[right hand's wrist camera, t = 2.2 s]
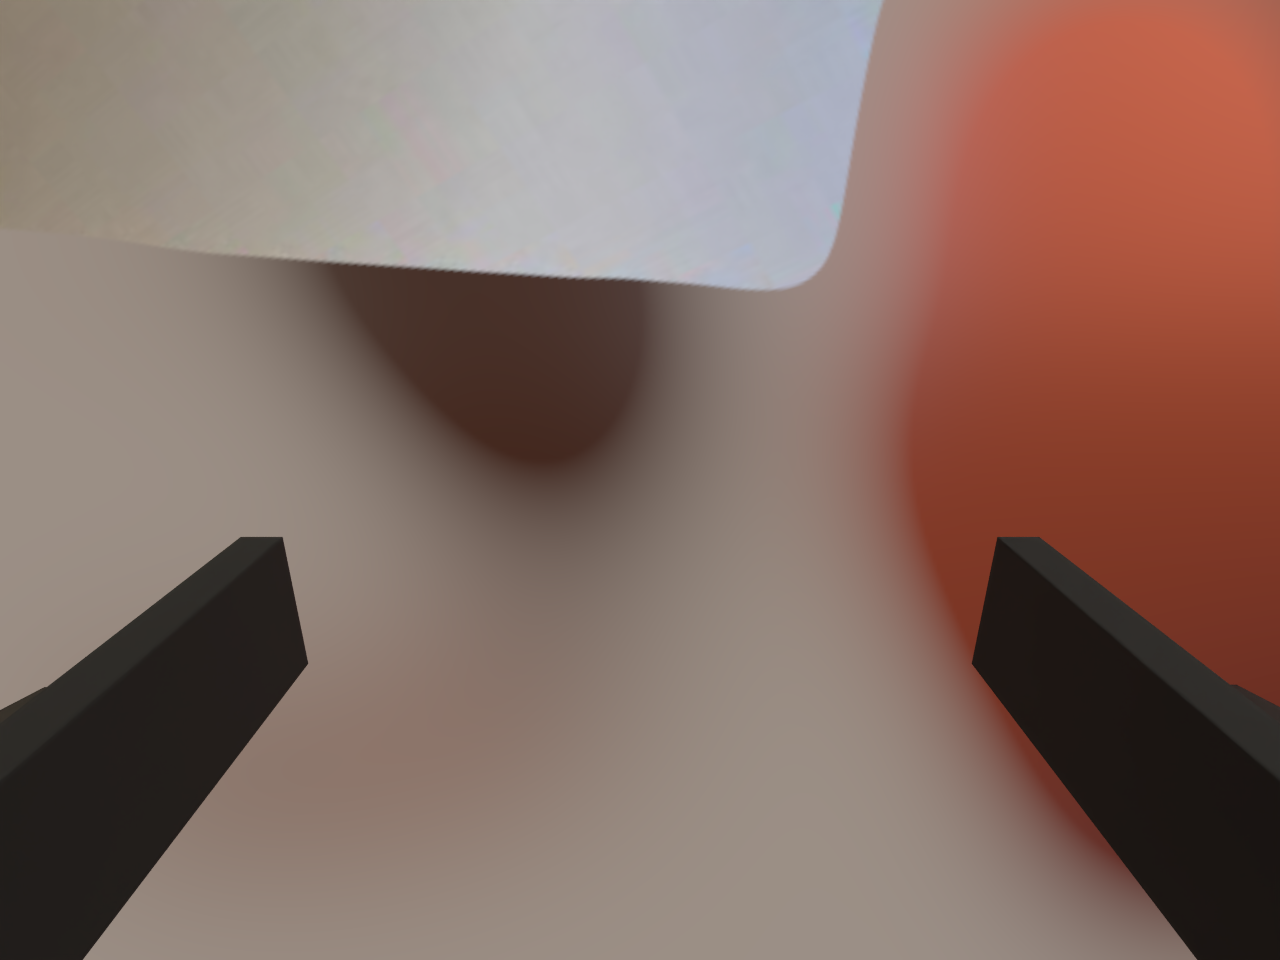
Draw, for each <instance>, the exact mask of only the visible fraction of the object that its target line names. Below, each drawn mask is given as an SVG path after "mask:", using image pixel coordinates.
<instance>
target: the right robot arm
mask: <svg viewBox="0 0 1280 960" xmlns="http://www.w3.org/2000/svg"><path fill="white" fill-rule="evenodd" d="M307 664H308V660H307V656H306V651H305V646H304V641H303V636H302V631H301V626H300V621H299V616H298V611H297V606H296V601H295V596H294V591H293V587H292V581H291V577H290V572H289V567H288V562H287V557H286V552H285V547H284V542H283V538H282V537H240V538H239V539H238V540H236V541H235V542H234V543H233V544H231V545H230V546H229V547H227V548H226V549H225V550H223V551H222V552H221V553H220V554H218V555H217V556H216V557H214V558H213V559H212V560H211V561H209V562H208V563H207V564H205V565H204V566H203V567H202V568H200V569H199V570H198V571H196V572H195V573H194V574H192V575H191V576H190V577H189V578H187V579H186V580H185V581H183V582H182V583H181V584H180V585H178V586H177V587H176V588H174V589H173V590H172V591H171V592H169V593H168V594H167V595H165V596H164V597H163V598H162V599H160V600H159V601H158V602H156V603H155V604H154V605H152V606H151V607H150V608H149V609H147V610H146V611H145V612H143V613H142V614H141V615H140V616H138V617H137V618H136V619H134V620H133V621H132V622H131V623H129V624H128V625H127V626H125V627H124V628H123V629H122V630H120V631H119V632H118V633H116V634H115V635H114V636H112V637H111V638H110V639H109V640H107V641H106V642H105V643H103V644H102V645H101V646H100V647H98V648H97V649H96V650H94V651H93V652H92V653H90V654H89V655H88V656H87V657H85V658H84V659H83V660H81V661H80V662H79V663H78V664H76V665H75V666H74V667H72V668H71V669H70V670H69V671H67V672H66V673H65V674H63V675H62V676H61V677H60V678H58V679H57V680H56V681H54V682H53V683H52V684H50V685H49V686H48V687H44V688H42V689H40V690H38V691H36V692H34V693H32V694H31V695H29V696H27V697H25V698H23V699H21V700H19V701H17V702H15V703H13V704H11V705H9V706H7V707H5V708H4V709H2V710H0V960H83V959H84V957H85V956H86V955H87V953H88V952H89V951H90V949H91V948H92V947H93V946H94V944H95V943H96V942H97V940H98V939H99V938H100V936H101V935H102V934H103V932H104V931H105V930H106V928H107V927H108V926H109V924H110V923H111V922H112V921H113V919H114V918H115V917H116V915H117V914H118V913H119V911H120V910H121V909H122V907H123V906H124V905H125V903H126V902H127V901H128V899H129V898H130V897H131V896H132V894H133V893H134V892H135V890H136V889H137V888H138V886H139V885H140V884H141V882H142V881H143V880H144V879H145V877H146V876H147V874H148V873H149V872H150V871H151V869H152V868H153V867H154V865H155V864H156V863H157V861H158V860H159V859H160V858H161V856H162V855H163V854H164V852H165V851H166V850H167V848H168V847H169V846H170V844H171V843H172V842H173V840H174V839H175V838H176V836H177V835H178V834H179V833H180V831H181V830H182V829H183V827H184V826H185V825H186V823H187V822H188V821H189V819H190V818H191V817H192V815H193V814H194V813H195V812H196V810H197V809H198V808H199V806H200V805H201V804H202V802H203V801H204V800H205V798H206V797H207V796H208V794H209V793H210V792H211V791H212V789H213V788H214V787H215V785H216V784H217V783H218V781H219V780H220V779H221V777H222V776H223V775H224V773H225V772H226V771H227V770H228V768H229V767H230V766H231V764H232V763H233V762H234V760H235V759H236V758H237V756H238V755H239V754H240V752H241V751H242V750H243V749H244V747H245V746H246V745H247V743H248V742H249V741H250V739H251V738H252V737H253V735H254V734H255V733H256V731H257V730H258V729H259V728H260V726H261V725H262V724H263V722H264V721H265V720H266V718H267V717H268V716H269V714H270V713H271V712H272V710H273V709H274V708H275V707H276V705H277V704H278V703H279V701H280V700H281V699H282V697H283V696H284V695H285V693H286V692H287V691H288V689H289V688H290V687H291V686H292V684H293V683H294V682H295V680H296V679H297V678H298V676H299V675H300V674H301V672H302V671H303V670H304V668H305V667H306V666H307ZM972 665H973V666H974V667H975V668H976V670H977V671H978V672H979V674H980V675H981V676H982V678H983V679H984V680H985V682H986V683H987V684H988V685H989V687H990V688H991V689H992V691H993V692H994V693H995V695H996V696H997V697H998V699H999V700H1000V701H1001V703H1002V704H1003V705H1004V706H1005V708H1006V709H1007V710H1008V712H1009V713H1010V714H1011V716H1012V717H1013V718H1014V720H1015V721H1016V722H1017V724H1018V725H1019V726H1020V728H1021V729H1022V730H1023V731H1024V733H1025V734H1026V735H1027V737H1028V738H1029V739H1030V741H1031V742H1032V743H1033V745H1034V746H1035V747H1036V749H1037V750H1038V751H1039V752H1040V754H1041V755H1042V756H1043V758H1044V759H1045V760H1046V762H1047V763H1048V764H1049V766H1050V767H1051V768H1052V770H1053V771H1054V772H1055V773H1056V775H1057V776H1058V777H1059V779H1060V780H1061V781H1062V783H1063V784H1064V785H1065V787H1066V788H1067V789H1068V791H1069V792H1070V793H1071V794H1072V796H1073V797H1074V798H1075V800H1076V801H1077V802H1078V804H1079V805H1080V806H1081V808H1082V809H1083V810H1084V812H1085V813H1086V814H1087V816H1088V817H1089V818H1090V819H1091V821H1092V822H1093V823H1094V825H1095V826H1096V827H1097V829H1098V830H1099V831H1100V833H1101V834H1102V835H1103V837H1104V838H1105V839H1106V840H1107V842H1108V843H1109V844H1110V846H1111V847H1112V848H1113V850H1114V851H1115V852H1116V854H1117V855H1118V856H1119V857H1120V859H1121V860H1122V861H1123V863H1124V864H1125V865H1126V867H1127V868H1128V869H1129V871H1130V872H1131V873H1132V875H1133V876H1134V877H1135V879H1136V880H1137V881H1138V882H1139V884H1140V885H1141V886H1142V888H1143V889H1144V890H1145V892H1146V893H1147V894H1148V896H1149V897H1150V898H1151V899H1152V901H1153V902H1154V903H1155V905H1156V906H1157V907H1158V909H1159V910H1160V911H1161V913H1162V914H1163V915H1164V917H1165V918H1166V919H1167V921H1168V922H1169V923H1170V924H1171V926H1172V927H1173V928H1174V930H1175V931H1176V932H1177V934H1178V935H1179V936H1180V938H1181V939H1182V940H1183V941H1184V943H1185V944H1186V946H1187V947H1188V948H1189V949H1190V951H1191V952H1192V953H1193V955H1194V956H1195V957H1196V959H1197V960H1280V707H1279V706H1277V705H1275V704H1273V703H1271V702H1269V701H1267V700H1265V699H1263V698H1261V697H1259V696H1257V695H1255V694H1253V693H1251V692H1249V691H1248V690H1246V689H1244V688H1242V687H1240V686H1238V685H1230V684H1228V683H1227V682H1226V681H1224V680H1223V679H1222V678H1221V677H1219V676H1218V675H1217V674H1215V673H1214V672H1213V671H1211V670H1210V669H1209V668H1208V667H1206V666H1205V665H1204V664H1202V663H1201V662H1200V661H1199V660H1197V659H1196V658H1195V657H1193V656H1192V655H1191V654H1190V653H1188V652H1187V651H1186V650H1184V649H1183V648H1182V647H1180V646H1179V645H1178V644H1177V643H1175V642H1174V641H1173V640H1171V639H1170V638H1169V637H1168V636H1166V635H1165V634H1164V633H1162V632H1161V631H1160V630H1159V629H1157V628H1156V627H1155V626H1153V625H1152V624H1151V623H1149V622H1148V621H1147V620H1146V619H1144V618H1143V617H1142V616H1140V615H1139V614H1138V613H1137V612H1135V611H1134V610H1133V609H1131V608H1130V607H1129V606H1128V605H1126V604H1125V603H1124V602H1122V601H1121V600H1120V599H1119V598H1117V597H1116V596H1115V595H1113V594H1112V593H1111V592H1109V591H1108V590H1107V589H1106V588H1104V587H1103V586H1102V585H1100V584H1099V583H1098V582H1097V581H1095V580H1094V579H1093V578H1091V577H1090V576H1089V575H1087V574H1086V573H1085V572H1084V571H1082V570H1081V569H1080V568H1078V567H1077V566H1076V565H1075V564H1073V563H1072V562H1071V561H1069V560H1068V559H1067V558H1066V557H1064V556H1063V555H1062V554H1060V553H1059V552H1058V551H1056V550H1055V549H1054V548H1053V547H1051V546H1050V545H1049V544H1047V543H1046V542H1045V541H1044V540H1042V539H1041V538H1040V537H997V542H996V547H995V552H994V557H993V562H992V567H991V572H990V576H989V581H988V587H987V591H986V596H985V601H984V606H983V611H982V616H981V621H980V626H979V631H978V636H977V641H976V646H975V651H974V656H973V661H972Z"/></svg>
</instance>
